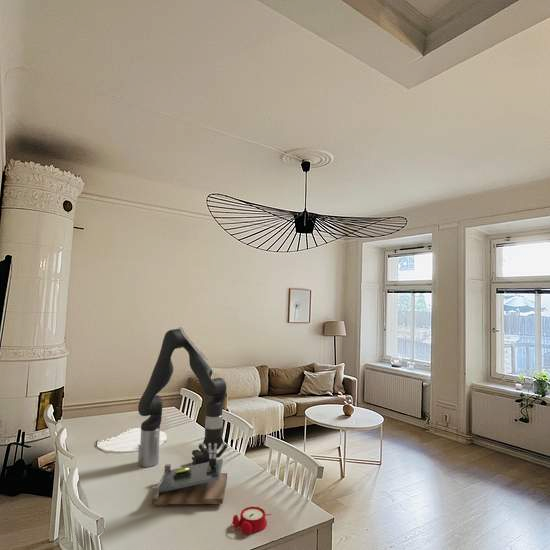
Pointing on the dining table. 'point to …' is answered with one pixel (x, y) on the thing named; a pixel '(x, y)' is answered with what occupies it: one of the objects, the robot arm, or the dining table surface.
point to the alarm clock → (250, 520)
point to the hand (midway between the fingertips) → (212, 466)
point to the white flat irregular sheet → (127, 441)
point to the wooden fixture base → (192, 493)
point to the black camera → (199, 457)
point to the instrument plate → (190, 476)
